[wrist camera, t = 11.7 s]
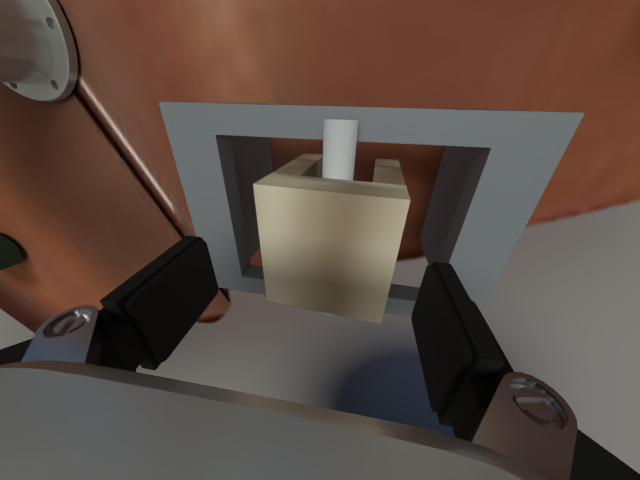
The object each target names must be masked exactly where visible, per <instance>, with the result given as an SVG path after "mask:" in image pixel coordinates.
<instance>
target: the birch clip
mask: <svg viewBox="0 0 640 480" xmlns="http://www.w3.org/2000/svg"><path fill="white" fill-rule="evenodd" d="M322 164H323V154H309V153H304V154H302V155H301V156H299V157H297V158H296V159H294V160H292V161H291V162H289V163H287V164H286V165H284V166H282V167H281V168H279V169H277V170H276V171H274V172H272V173H271V174H269V175H267V176H266V177H264V178H262V179H261V180H259V181H257V182H256V183H254V184H253V189H254V197H255V206H256V214H257V222H258V231H259V239H260V248H261V256H262V264H263V273H264V281H265V290H266V297H267V301H269V302H274V303H279V304H285V305H289V306H294V307H299V308H304V309H309V310H315V311H320V312H324V313H329V314H334V315H340V316H344V317H349V318H354V319H359V320H364V321H370V322H375V323H380V324H381V323H382V319H383V315H384V310H385V306H386V302H387V298H388V293H389V289H390V285H391V281H392V276H393V272H394V268H395V264H396V260H397V255H398V251H399V247H400V243H401V238H402V234H403V230H404V226H405V222H406V217H407V213H408V209H409V205H410V197H409V193H408V190H407V187H406V184H405V180H404V177H403V174H402V170H401V167H400V164H399V160H392V159H378V158H376V161H375V168H374V175H373V182H364V181H353V180H342V179H331V178H322Z"/></svg>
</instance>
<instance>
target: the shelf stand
mask: <svg viewBox="0 0 640 480" xmlns="http://www.w3.org/2000/svg"><path fill="white" fill-rule="evenodd" d="M159 105H160V109H161V112H162V116H163V120H164V123H165V127H166V130H167V134H168V137H169V141H170V144H171V148H172V151H173V155H174V159H175V162H176V166H177V169H178V173H179V176H180V180H181V183H182V187H183V190H184V194H185V198H186V201H187V205H188V208H189V212H190V215H191V219H192V222H193V226H194V229H195V233H196V237H201V238H202V239H203V240H204V241H205V242H206V243H207V246H208V250H209V254H210V257H211V261H212V265H213V268H214V272H215V276H216V280H217V283H218V287H220V288H227V289H233V290H240V291H246V292H253V293H260V294H266V290H265V281H264V273H263V267H260V266H253V265H250V259H251V258H252V256H253V255H254V254H255V252H256V251H257V250H258V249H259V247H260V239H259V231H258V222H257V214H256V206H255V197H254V189H253V184H254V183H256V182H257V181H259V180H261V179H262V178H264V177H266V176H267V175H269V174H271V173H272V172H273V163H272V151H271V138H270V137H276V138H297V139H318V140H323V164H322V178H331V179H342V180H353V176H354V165H355V155H356V144H357V141H360V142H381V143H402V144H423V145H444V146H445V147H444V151H443V155H442V158H441V162H440V165H439V169H438V173H437V176H436V180H435V184H434V187H433V191H432V195H431V198H430V202H429V206H428V209H427V213H426V217H425V220H424V224H423V228H422V231H421V235H420V238H419V240H420V242H421V245H422V248H423V250H424V253H425V256H426V258H427V261H428V264H429V265H432V263H433V262H443V263H450V264H451V265H452V266H453V268H454V270H455V272H456V274H457V276H458V277H459V279H460V281H461V283H462V285H463V286H464V288H465V290H466V292H467V294H468V296H469V297H470V299H471V300H472V301H474V302H475V304H476V305H477V307H478V308H479V310H480V312H481V311H482V309H483V307H484V305H485V303H486V301H487V299H488V297H489V295H490V293H491V291H492V290H493V287H494V286H495V283H496V282H497V280H498V278H499V276H500V274H501V272H502V270H503V268H504V267H505V265H506V263H507V261H508V259H509V257H510V255H511V253H512V251H513V249H514V247H515V246H516V243H517V242H518V240H519V238H520V236H521V234H522V232H523V230H524V228H525V226H526V225H527V223H528V221H529V219H530V217H531V215H532V213H533V211H534V209H535V207H536V205H537V204H538V202H539V200H540V198H541V196H542V194H543V192H544V190H545V188H546V186H547V184H548V182H549V181H550V179H551V177H552V175H553V173H554V171H555V169H556V167H557V165H558V163H559V161H560V160H561V158H562V156H563V154H564V152H565V150H566V148H567V146H568V144H569V142H570V140H571V139H572V137H573V135H574V133H575V131H576V129H577V127H578V125H579V123H580V121H581V119H582V117H583V116H584V114H585V113H570V112H539V111H508V110H477V109H419V108H381V107H343V106H305V105H268V104H244V103H194V102H159ZM419 289H420V288H417V287H410V286H402V285H395V284H391V285H390V289H389V293H388V298H387V302H386V306H385V310H384V312H385V313H392V314H398V315H405V316H411V317H412V311H413V308H414V305H415V302H416V299H417V296H418V293H419ZM321 313H322V314H324V315H326V316H335V315H334V314H329V313H324V312H321Z"/></svg>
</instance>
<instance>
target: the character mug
mask: <svg viewBox="0 0 640 480" xmlns="http://www.w3.org/2000/svg"><path fill="white" fill-rule="evenodd" d="M21 262H22V254H21V252H20V250H19V249H18V247H17V246H16V245H15V244H14V243H13V242H11V241H10V240H9V239H7V238H5V237H3V236H1V235H0V270H2V269H5V268H8V267H11V266H14V265H16V264H19V263H21Z"/></svg>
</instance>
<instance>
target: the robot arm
mask: <svg viewBox="0 0 640 480" xmlns="http://www.w3.org/2000/svg"><path fill="white" fill-rule="evenodd" d="M77 74H78V61H77V52H76V48H75V44H74V40H73V36H72V34H71V31H70V28H69V25H68V23H67V20H66V18H65V16H64V14H63V12H62V10H61V8H60V6H59V4H58V3H57V1H56V0H0V82H2V83H4V84H5V85H6V86H8V87H9V88H11V89H12V90H13V91H15V92H17V93H19V94H21V95H22V96H24V97H27V98H30V99H32V100H37V101H59V100H63V99H65V98H66V97H67V96H69V95H70V93H71V92H72V90H73V89H74V87H75V84H76V81H77ZM217 293H218V283H217V280H216V276H215V272H214V268H213V265H212V261H211V257H210V254H209V250H208V246H207V243H206V242H205V241H204V240H203V239H202V238H201V237H196V236H186V237H184V238H183V239H181V240H180V241H179V242H177V243H176V244H175V245H173V246H172V247H171V248H169V249H168V250H167V251H165V252H164V253H163V254H161V255H160V256H159V257H157V258H156V259H155V260H153V261H152V262H151V263H149V264H148V265H147V266H145V267H144V268H143V269H141V270H140V271H139V272H137V273H136V274H135V275H133V276H132V277H131V278H129V279H128V280H127V281H125V282H124V283H123V284H121V285H120V286H119V287H117V288H116V289H115V290H113V291H112V292H111V293H109V294H108V295H107V296H105V297H104V298H103V299H101V300H100V302H101V304H102V305H103V307H104V308H103V309H101V310H100V311H99V310H98V309H97V308H96V307H95V306H91V305H83V306H78V307H74V308H71V309H68V310H65V311H63V312H61V313H59V314H57V315H55V316H54V317H52V318H50V319H49V320H47V321H46V322H45V323H44V324H43V325H42V326H40V328H39V329H38V330H37V332H36V334H35V335H34V337H33V339H30V340H27V341H24V342H21V343H18V344H16V345H12V346H10V347H7V348H4V349H1V350H0V480H640V474H638V473H637V472H636V471H634V470H633V469H632V468H630V467H629V466H628V465H626V464H625V463H624V462H622V461H620V460H619V459H618V458H617V457H615V456H614V455H613V454H611V453H610V452H608V451H607V450H606V449H604V448H603V447H602V446H600V445H599V444H598V443H596V442H595V441H593V440H592V439H591V438H589V437H588V436H586V435H585V434H584V433H582V432H581V431H580V430H578V428H577V420H576V418H575V415H574V413H573V411H572V409H571V408H570V406H569V405H568V404H567V402H566V401H565V400H564V399H563V398H562V397H561V396H560V395H559V394H558V393H557V392H556V391H555V390H554V389H553V388H551V387H550V386H548V385H547V384H546V383H544V382H543V381H541V380H539V379H537V378H535V377H533V376H531V375H528V374H524V373H521V372H514V371H513V369H512V367H511V366H510V364H509V362H508V360H507V358H506V357H505V355H504V353H503V351H502V350H501V348H500V346H499V344H498V342H497V340H496V339H495V337H494V335H493V333H492V332H491V330H490V328H489V326H488V325H487V323H486V321H485V319H484V317H483V316H482V314H481V312H480V310H479V308H478V307H477V305H476V304H475V302H474V301H472V300H471V299H470V297H469V296H468V294H467V292H466V290H465V288H464V286H463V285H462V283H461V281H460V279H459V277H458V276H457V274H456V272H455V270H454V268H453V266H452V265H451V264H450V263H443V262H433V263H432V265H428V266H427V268H426V271H425V274H424V277H423V280H422V283H421V286H420V289H419V293H418V296H417V299H416V302H415V305H414V308H413V311H412V325H413V329H414V334H415V338H416V342H417V347H418V352H419V356H420V361H421V365H422V370H423V374H424V379H425V383H426V388H427V392H428V397H429V401H430V406H431V409H432V411H433V412H437V414H438V419H439V423H440V424H442V425H447V426H452V427H453V431H454V434H455V436H456V437H453V436H449V435H446V434H442V433H438V432H434V431H430V430H426V429H421V428H416V427H412V426H407V425H402V424H398V423H393V422H389V421H384V420H379V419H375V418H370V417H365V416H360V415H355V414H350V413H344V412H340V411H335V410H330V409H324V408H320V407H315V406H309V405H304V404H300V403H295V402H289V401H284V400H279V399H274V398H269V397H264V396H259V395H253V394H248V393H243V392H238V391H232V390H227V389H222V388H217V387H212V386H207V385H201V384H196V383H191V382H185V381H180V380H175V379H169V378H164V377H158V376H153V375H148V374H142V373H137V372H136V368H137V367H138V366H139V365H141V367H142V368H146V369H151V370H156V369H157V368H158V366H159V365H160V364H161V362H163V361H165V360H167V358H168V357H169V356H170V355H171V353H172V352H173V350H174V349H175V348H176V347H177V346H178V344H179V343H180V342H181V340H182V339H183V338H184V336H185V335H186V334H187V333H188V331H189V330H190V329H191V327H192V326H193V325H194V323H195V322H196V321H197V320H198V318H199V317H200V316H201V314H202V313H203V312H204V310H205V309H206V308H207V306H208V305H209V304H210V303H211V301H212V300H213V299H214V297H215V296H216V295H217Z"/></svg>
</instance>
